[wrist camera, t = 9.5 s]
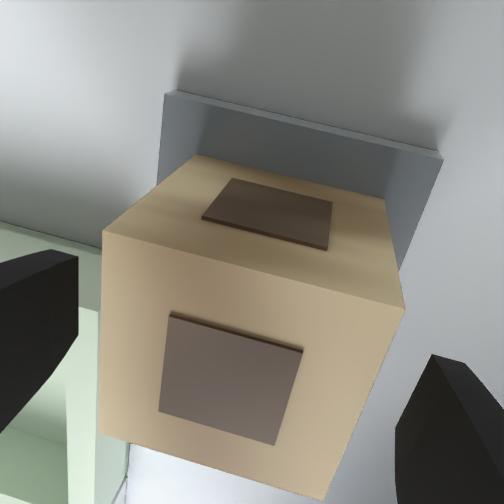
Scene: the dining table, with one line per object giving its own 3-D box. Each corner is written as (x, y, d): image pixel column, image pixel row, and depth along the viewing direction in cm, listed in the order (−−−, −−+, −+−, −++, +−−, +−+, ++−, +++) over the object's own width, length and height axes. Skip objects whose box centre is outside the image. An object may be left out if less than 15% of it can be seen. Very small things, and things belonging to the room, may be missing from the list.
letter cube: (385, 196, 11) (407, 308, 7) (332, 349, 14) (323, 505, 9) (195, 151, 12) (99, 227, 7) (177, 306, 14) (96, 435, 10)
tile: (438, 151, 11) (443, 159, 10) (356, 358, 15) (356, 374, 14) (175, 90, 12) (164, 94, 11) (154, 301, 15) (145, 314, 14)
